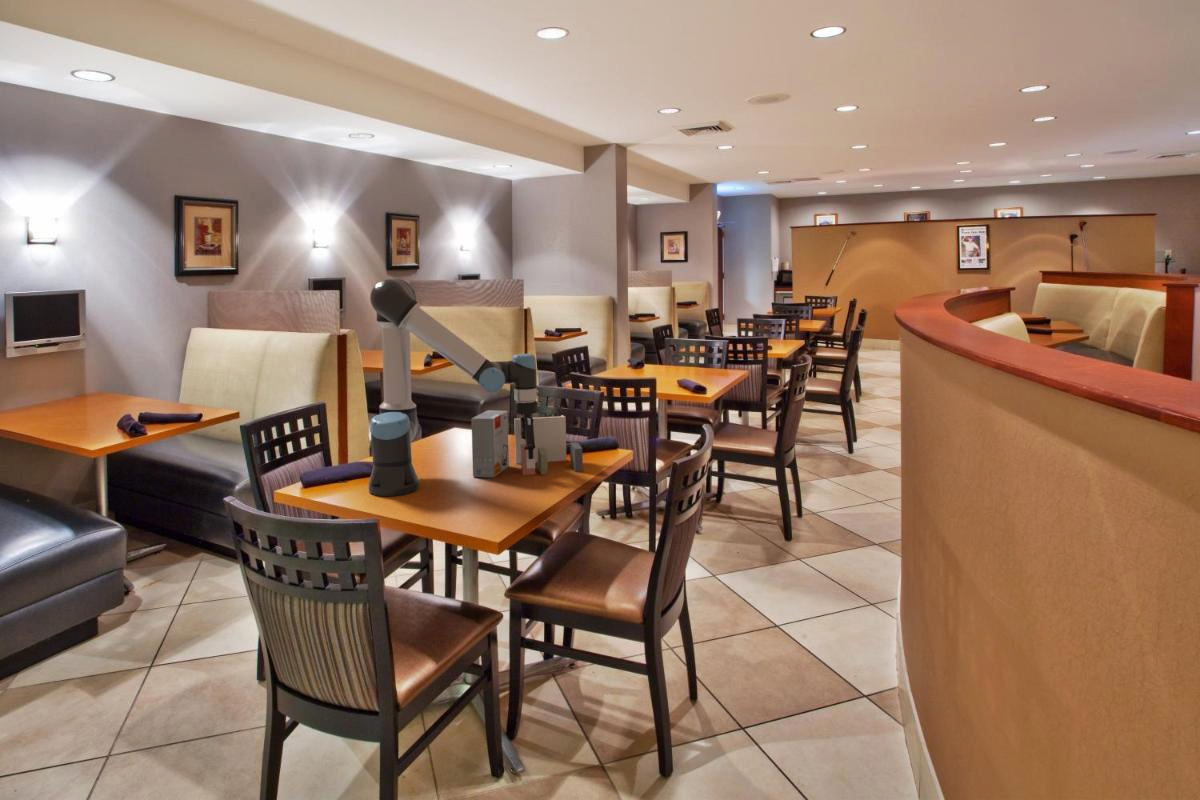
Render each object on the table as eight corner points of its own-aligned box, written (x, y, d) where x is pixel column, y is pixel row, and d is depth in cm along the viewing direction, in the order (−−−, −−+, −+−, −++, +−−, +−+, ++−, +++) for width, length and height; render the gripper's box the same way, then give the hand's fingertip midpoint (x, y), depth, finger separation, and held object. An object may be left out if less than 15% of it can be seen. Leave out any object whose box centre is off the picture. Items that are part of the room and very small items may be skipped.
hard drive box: (494, 478, 230) (492, 419, 227) (472, 477, 232) (469, 418, 228) (509, 466, 245) (507, 410, 242) (489, 465, 247) (486, 409, 243)
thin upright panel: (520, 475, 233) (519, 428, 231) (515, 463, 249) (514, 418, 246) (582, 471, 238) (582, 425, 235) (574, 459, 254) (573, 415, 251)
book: (523, 475, 235) (522, 448, 233) (521, 470, 240) (520, 444, 239) (535, 474, 235) (534, 448, 234) (533, 469, 241) (532, 443, 240)
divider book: (541, 474, 235) (540, 453, 234) (538, 467, 243) (537, 448, 242) (547, 473, 236) (546, 453, 234) (544, 467, 243) (543, 447, 242)
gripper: (542, 406, 222) (544, 471, 226) (532, 394, 246) (535, 452, 250) (518, 408, 221) (521, 473, 224) (511, 395, 245) (514, 454, 249)
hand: (528, 462), depth 237 cm, fingers open, 13 cm apart
